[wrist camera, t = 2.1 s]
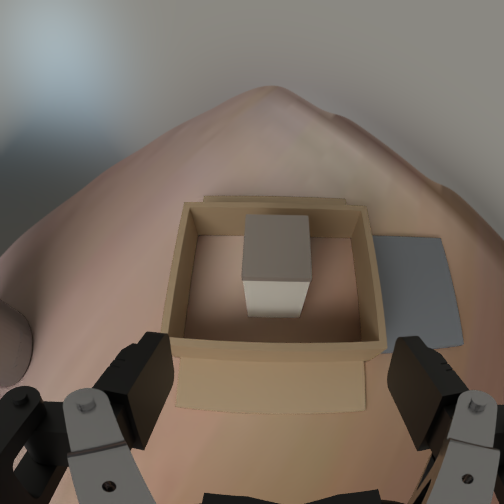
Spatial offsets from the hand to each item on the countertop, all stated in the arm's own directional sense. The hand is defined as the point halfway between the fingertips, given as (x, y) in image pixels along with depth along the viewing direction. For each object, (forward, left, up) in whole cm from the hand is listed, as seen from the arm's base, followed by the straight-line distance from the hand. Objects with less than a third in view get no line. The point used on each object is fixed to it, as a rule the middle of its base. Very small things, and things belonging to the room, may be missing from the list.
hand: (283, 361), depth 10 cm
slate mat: (+14, +10, -16) cm, 23 cm away
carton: (0, +10, -16) cm, 18 cm away
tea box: (0, +10, -16) cm, 18 cm away
